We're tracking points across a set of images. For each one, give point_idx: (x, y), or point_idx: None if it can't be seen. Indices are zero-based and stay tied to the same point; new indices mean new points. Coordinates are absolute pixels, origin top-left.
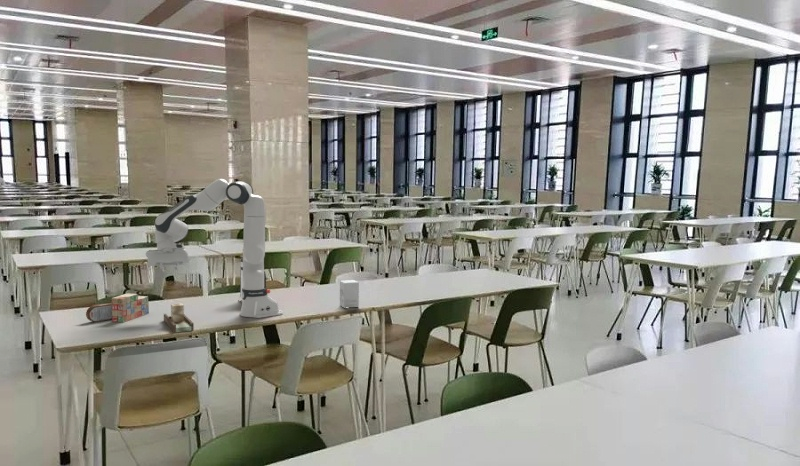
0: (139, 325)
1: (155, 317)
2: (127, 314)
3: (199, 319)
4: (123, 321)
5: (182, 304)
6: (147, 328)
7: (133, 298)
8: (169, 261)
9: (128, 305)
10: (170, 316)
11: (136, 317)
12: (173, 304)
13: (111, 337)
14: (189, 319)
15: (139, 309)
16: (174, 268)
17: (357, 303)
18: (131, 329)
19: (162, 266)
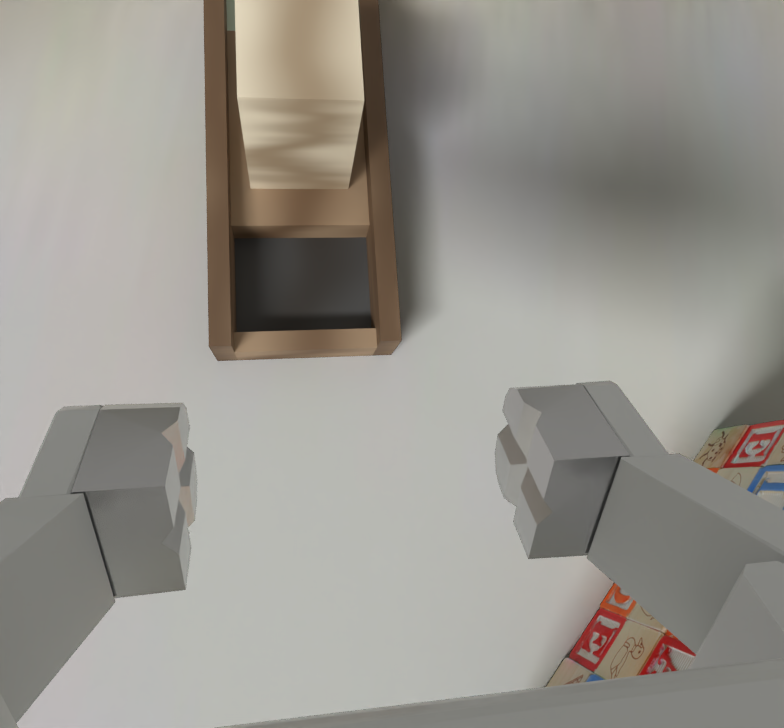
0: (591, 267)
1: (448, 530)
2: (720, 472)
3: (63, 278)
4: (716, 433)
5: (239, 28)
6: (536, 143)
7: None
8: (427, 703)
9: (774, 492)
10: (333, 339)
11: (613, 586)
12: (339, 72)
13: (761, 7)
14: (205, 14)
15: (621, 644)
16: (177, 532)
17: None
18: (647, 163)
19: (697, 477)
